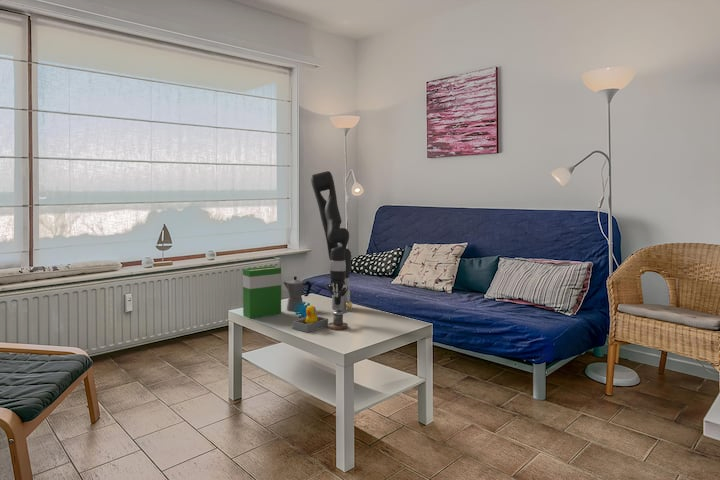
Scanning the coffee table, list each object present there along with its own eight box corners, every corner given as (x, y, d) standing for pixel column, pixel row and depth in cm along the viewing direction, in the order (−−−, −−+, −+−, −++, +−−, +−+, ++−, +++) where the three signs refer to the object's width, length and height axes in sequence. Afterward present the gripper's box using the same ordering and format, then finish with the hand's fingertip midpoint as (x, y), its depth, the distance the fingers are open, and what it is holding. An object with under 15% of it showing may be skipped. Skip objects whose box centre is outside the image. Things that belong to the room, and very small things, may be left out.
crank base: (337, 323, 231) (337, 311, 230) (351, 327, 225) (351, 314, 225) (324, 327, 224) (324, 315, 223) (339, 331, 218) (339, 318, 218)
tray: (313, 322, 233) (313, 315, 232) (328, 325, 227) (328, 318, 227) (292, 328, 222) (292, 321, 221) (307, 332, 216) (307, 324, 216)
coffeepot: (281, 311, 253) (281, 277, 252) (284, 307, 263) (284, 274, 261) (310, 312, 253) (310, 278, 251) (312, 307, 262) (312, 275, 260)
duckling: (314, 330, 218) (314, 308, 217) (302, 329, 219) (302, 307, 218) (319, 323, 229) (319, 302, 228) (308, 322, 230) (308, 302, 229)
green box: (274, 310, 255) (273, 265, 253) (281, 313, 249) (281, 267, 247) (243, 315, 244) (242, 269, 241) (250, 318, 238) (249, 271, 236)
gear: (294, 317, 236) (294, 299, 242) (292, 323, 240) (292, 306, 246) (316, 319, 239) (316, 302, 245) (314, 325, 243) (314, 308, 249)
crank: (338, 316, 221) (338, 307, 220) (331, 314, 224) (331, 305, 223) (354, 311, 230) (354, 302, 230) (347, 310, 233) (347, 301, 232)
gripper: (322, 268, 234) (322, 303, 236) (341, 271, 225) (341, 308, 227) (334, 266, 240) (333, 301, 242) (353, 270, 231) (352, 305, 232)
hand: (337, 304), depth 234 cm, fingers closed
